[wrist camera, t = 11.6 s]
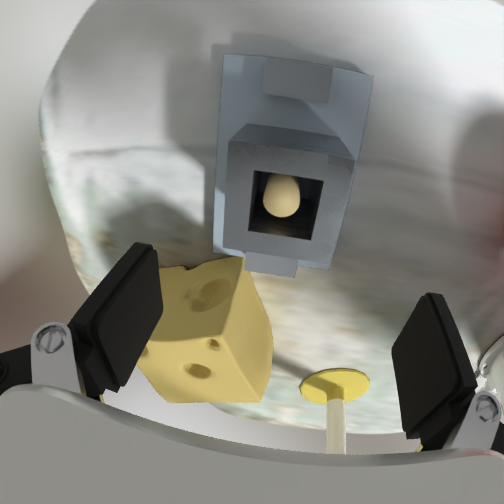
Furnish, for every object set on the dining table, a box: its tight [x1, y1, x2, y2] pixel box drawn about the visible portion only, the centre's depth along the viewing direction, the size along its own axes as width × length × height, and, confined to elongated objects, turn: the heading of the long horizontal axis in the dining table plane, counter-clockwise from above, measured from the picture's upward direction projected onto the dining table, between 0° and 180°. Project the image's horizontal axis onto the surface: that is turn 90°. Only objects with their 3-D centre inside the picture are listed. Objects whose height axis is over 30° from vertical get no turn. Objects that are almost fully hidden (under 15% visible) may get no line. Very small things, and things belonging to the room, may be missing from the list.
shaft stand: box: [213, 54, 373, 278], centre depth 19 cm, size 16×10×7 cm, turn 175°
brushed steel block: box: [222, 123, 356, 264], centre depth 18 cm, size 6×6×6 cm
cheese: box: [137, 256, 273, 403], centre depth 26 cm, size 10×11×10 cm
